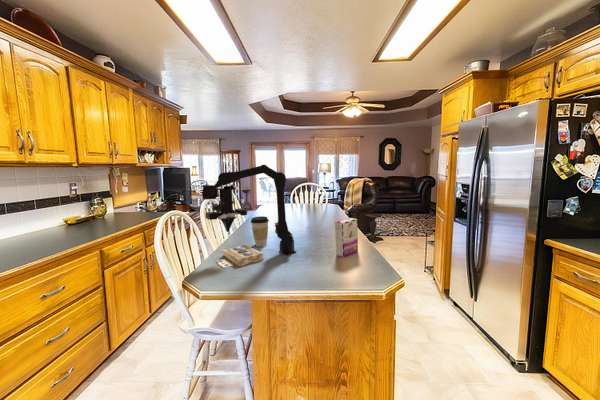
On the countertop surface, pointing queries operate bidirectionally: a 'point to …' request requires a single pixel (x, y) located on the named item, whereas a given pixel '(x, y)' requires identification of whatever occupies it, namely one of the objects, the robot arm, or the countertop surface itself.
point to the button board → (241, 258)
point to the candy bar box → (346, 237)
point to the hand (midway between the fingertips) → (227, 231)
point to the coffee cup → (260, 230)
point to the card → (224, 263)
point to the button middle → (242, 250)
